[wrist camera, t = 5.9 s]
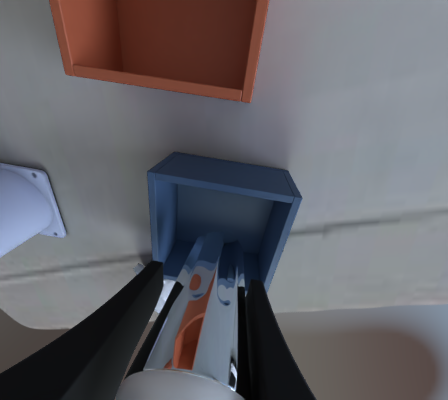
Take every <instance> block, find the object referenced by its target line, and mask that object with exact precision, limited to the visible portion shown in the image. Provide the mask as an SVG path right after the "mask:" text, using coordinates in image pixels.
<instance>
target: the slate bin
mask: <svg viewBox="0 0 448 400" xmlns="http://www.w3.org/2000/svg"><path fill="white" fill-rule="evenodd" d="M147 176H148V192H149V209H150V225H151V241H152V257H153V260H154V261H159V262H163V277H164V279H168V280H173V281H176V280H177V278H178V276H179V274H180V272H181V270H182V268H183V266H184V264H185V262H186V260H187V258H188V256H189V254H190V252H191V250H192V248H193V246H194V244H195V242H196V240H197V238H198V237H199V236H200V235H202V234H203V233H205V232H206V231H208V230H209V229H210V230H226V231H228V232H229V233H231V234H233V235H235V236H237V237H238V240H239V242H240V244H241V246H242V248H243V261H244V280H245V294H247V291H248V287H249V284H250V280H251V279H254V280H260V281H262V282H263V283H264V287H265V290H266V294H267V292H268V289H269V286H270V284H271V281H272V278H273V276H274V273H275V270H276V268H277V265H278V262H279V260H280V257H281V254H282V252H283V249H284V246H285V244H286V241H287V238H288V235H289V233H290V230H291V227H292V225H293V222H294V219H295V217H296V214H297V211H298V209H299V206H300V203H301V201H302V196H301V194H300V192H299V191H298V189H297V187H296V185H295V183H294V181H293V179H292V177H291V175H290V173H289V171H288V170H282V169H276V168H270V167H263V166H257V165H251V164H245V163H239V162H233V161H227V160H221V159H215V158H209V157H203V156H197V155H191V154H185V153H179V152H173V153H172V154H171V155H169V156H168V157H167V158H165V159H164V160H162V161H161V162H160V163H158V164H157V165H156V166H154V167H153V168H151V169H150V170H149V171H147Z"/></svg>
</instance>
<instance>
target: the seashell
mask: <svg viewBox="0 0 448 400" xmlns="http://www.w3.org/2000/svg"><path fill="white" fill-rule="evenodd" d="M133 269H134V270H135V272H136V275H138V274H139V273H140V272H141V271H142V270H143V269H144V266H143V265H141V264H139V263H138V265H137V266H136V267H135V268H133ZM175 282H176V281H173V280H168V279H164V287H163V289H162V292H161V295H160V298H159V300H158V303H157V305H156V307H155V309H154V310H155V311H156V312H157V313H160V311H161V309H162V308H163V306H164V304H165V302H166V300H167V298H168V296H169V294H170V292H171V290H172V288H173V286H174V284H175Z"/></svg>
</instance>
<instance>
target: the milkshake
mask: <svg viewBox="0 0 448 400" xmlns="http://www.w3.org/2000/svg"><path fill="white" fill-rule="evenodd" d="M116 400H252V391H251V378H250V365H249V352H248V338H247V323H246V301H245V280H244V261H243V248H242V246H241V244H240V242H239V240H238V237H237V236H235V235H233V234H231V233H229V232H228V231H226V230H210V229H209V230H208V231H206V232H205V233H203V234H202V235H200V236H199V237H198V238H197V240H196V242H195V244H194V246H193V248H192V250H191V252H190V254H189V256H188V258H187V260H186V262H185V264H184V266H183V268H182V270H181V272H180V274H179V276H178V278H177V280H176V282H175V284H174V286H173V288H172V290H171V292H170V294H169V296H168V298H167V300H166V302H165V304H164V306H163V308H162V309H161V311H160V313H159V315H158V317H157V319H156V321H155V323H154V325H153V326H152V328H151V330H150V332H149V334H148V336H147V337H146V339H145V341H144V343H143V345H142V347H141V349H140V351H139V352H138V355H137V356H136V358H135V360H134V362H133V363H132V365H131V367H130V369H129V371H128V373H127V375H126V377H125V379H124V381H123V382H122V384H121V385H120V387H119V389H118V391H117V394H116Z"/></svg>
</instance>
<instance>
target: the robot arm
mask: <svg viewBox="0 0 448 400" xmlns="http://www.w3.org/2000/svg"><path fill="white" fill-rule="evenodd" d="M37 233H38V234H43V235H48V236H54V237H59V238H63V237H65V236H66V231H65V228H64V225H63V222H62V219H61V216H60V213H59V210H58V207H57V204H56V201H55V197H54V194H53V191H52V188H51V185H50V182H49V179H48V176H47V174H46V173H45V172H44V171H43V170H39V169H33V168H28V167H22V166H16V165H11V164H5V163H0V257H2V256H3V255H5V254H6V253H8V252H9V251H11V250H13V249H14V248H16V247H17V246H19V245H20V244H22V243H23V242H25V241H27V240H28V239H30V238H31V237H33V236H34V235H36V234H37ZM163 287H164V277H163V262H159V261H154V260H152V261H151V262H150V263H149V264H148V265H147V266H146V267H145V268H144V269H143V270H142V271H141V272H140V273H139V274H138V275H136V276H135V277H134V278H133V279H132V280H131V281H130V282H129V283H128V284H127V285H126V286H125V287H123V288H122V289H121V290H120V291H119V292H118V293H117V294H116V295H114V296H113V297H112V298H111V299H110V300H108V301H107V302H106V303H105V304H104V305H102V306H101V307H100V308H99V309H97V310H96V311H95V312H93V313H92V314H91V315H90V316H88V317H87V318H86V319H84V320H83V321H81V322H80V323H79V324H77V325H76V326H75V327H73V328H72V329H70V330H69V331H67V332H66V333H64V334H63V335H62V336H60V337H59V338H57V339H56V340H54V341H53V342H51V343H50V344H48V345H46V346H45V347H43V348H42V349H40V350H39V351H37V352H35V353H34V354H32V355H30V356H29V357H27V358H26V359H24V360H22V361H21V362H19V363H18V364H16V365H14V366H12V367H11V368H9V369H8V370H6V371H4V372H2V373H0V400H114V399H115V396H116V394H117V391H118V389H119V386H120V384H121V381H122V379H123V376H124V374H125V371H126V368H127V366H128V364H129V361H130V359H131V356H132V354H133V352H134V350H135V347H136V346H137V344H138V342H139V340H140V337H141V336H142V334H143V332H144V329H145V328H146V326H147V324H148V322H149V320H150V318H151V316H152V313H153V311H154V309H155V307H156V305H157V303H158V300H159V298H160V295H161V292H162V289H163ZM245 301H246V323H247V338H248V352H249V365H250V378H251V391H252V400H316V398H315V397H314V395H313V393H312V392H311V390H310V388H309V386H308V384H307V383H306V381H305V379H304V377H303V375H302V374H301V372H300V370H299V368H298V366H297V364H296V362H295V360H294V359H293V356H292V354H291V352H290V350H289V348H288V346H287V344H286V342H285V340H284V337H283V335H282V333H281V330H280V328H279V326H278V323H277V321H276V318H275V316H274V313H273V311H272V308H271V305H270V302H269V300H268V297H267V294H266V290H265V287H264V283H263V282H262V281H260V280H254V279H251V280H250V284H249V287H248V291H247V294H246V297H245Z"/></svg>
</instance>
